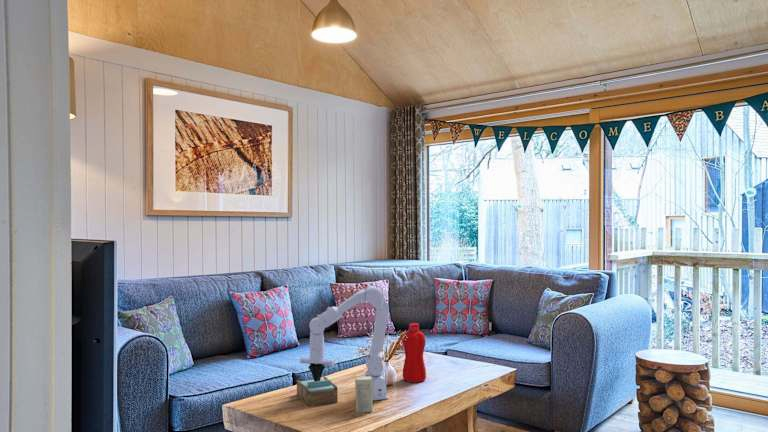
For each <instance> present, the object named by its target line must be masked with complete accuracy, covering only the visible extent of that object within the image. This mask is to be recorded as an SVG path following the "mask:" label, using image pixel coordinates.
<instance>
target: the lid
mask: <svg viewBox="0 0 768 432" xmlns="http://www.w3.org/2000/svg"><path fill="white" fill-rule="evenodd" d="M299 381H300V380H299ZM300 382H301V383H302V384H303V385H304V386H305V387H306V388H307V389H308V390H309V392H317V391H324V390H332V389H335V387H333V386H332V385H331V382H332V380H330V379H329V380H325V379H324V378H321V379H320V381H314V379H309V380H301V381H300Z"/></svg>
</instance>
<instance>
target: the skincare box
mask: <svg viewBox="0 0 768 432" xmlns="http://www.w3.org/2000/svg"><path fill="white" fill-rule="evenodd" d="M354 381H355V382H354V383H355V385H354V388H355V411H356V413H369V412H371V413H372V412H373V410H374V406H373V401H372V377H371V376H366V377H365V376H356V377H355V379H354Z"/></svg>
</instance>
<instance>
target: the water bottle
mask: <svg viewBox="0 0 768 432" xmlns="http://www.w3.org/2000/svg"><path fill="white" fill-rule="evenodd" d="M404 334H405V335H407V337H408V338H406V336H405V337H404V338H405V339H407V340H406V341H405V340H404V339H403V338H402V343H401V347H403V350H404V353H402V355H405V356H404V357H405V358H404V363H403V368H402V378H403V380H405V381H407V382H408V383H419V382H423V381H425V380H426V379H427V370H426V369H427V368H426V364H425V361H424V351H425V346H426V341H427V340H426V335H425V334H424V332H422V331H420V323H417V322H411V323H409V324H408V330H407V331H405V332H404Z"/></svg>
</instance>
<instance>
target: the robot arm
mask: <svg viewBox="0 0 768 432" xmlns="http://www.w3.org/2000/svg"><path fill="white" fill-rule="evenodd" d="M366 301H367V302H366ZM367 303H369V304H370V305H371V306H373V308H375V309H376V314H375V318H374V319H375V321H374V326H373V332H372V339H371V346H370V350H369V353H368V356H367V357H366V359H365V362H364V364H365V367H366V368H367V370H366V372H365V375H364V377H366V376H371V377H372V402H373V401H381V400H388V399H389V396H388V395H387V393H388V391H387V381H386V380H385V378H384V372H383V371H384V364H383V350H384V343H385V337H386V331H387V326H388V319H389V311H390V306H389V304H388V302H387V300H386V298H385V296H384V294H383V292H381V290H379V288H377V287H376V285H375V286H374V285H372V284H371V285H367V286H366V287H365V288H363V289H360V290H359V291H357V292H356V293H354V294H352V295H351V296H350V297H349V298H348V299H346V300H345V301H343V302H342V303H341V304H339V305H338V306H334V305H333V306H331V307H330V306H328V307H327V308H326V310H325V311H324V312H321V314H319V313H318V314H317V315H316V317H314V318H312V319H310V322H309V330H310V332H309V357H300V358H299V364H308V369H309V371H310V373H311V375H312V378H313V379H312V380H314V381H320V379H322V378H321V377H322V375H323V372H324V370H325V368H326V366H328V367H330V368H331V367H332V368H333V367H334V366H335V360H331V359H328V358H327V359H326V358H325V336H324V331H325V329H326V328H329V327H331V326H332V325H333V324H334V323H336V322H338V320H340V319H341V316H342V314H343V313H345V312H347V311H348V310H350V309H352V308H353V307H355V306H356V305H357V304H367Z"/></svg>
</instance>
